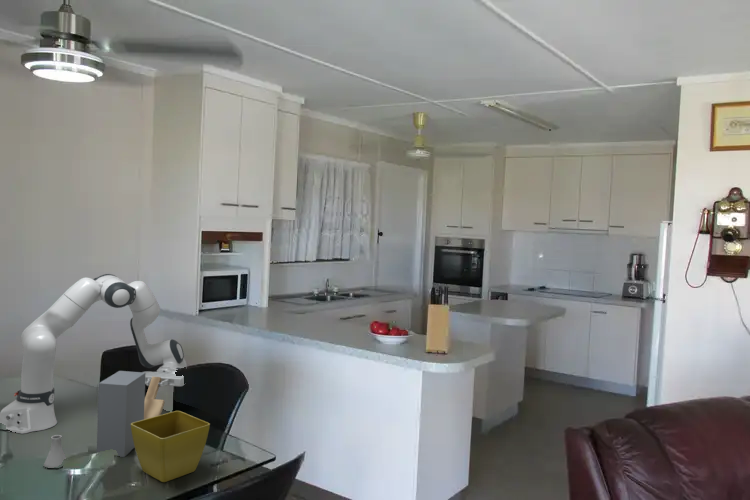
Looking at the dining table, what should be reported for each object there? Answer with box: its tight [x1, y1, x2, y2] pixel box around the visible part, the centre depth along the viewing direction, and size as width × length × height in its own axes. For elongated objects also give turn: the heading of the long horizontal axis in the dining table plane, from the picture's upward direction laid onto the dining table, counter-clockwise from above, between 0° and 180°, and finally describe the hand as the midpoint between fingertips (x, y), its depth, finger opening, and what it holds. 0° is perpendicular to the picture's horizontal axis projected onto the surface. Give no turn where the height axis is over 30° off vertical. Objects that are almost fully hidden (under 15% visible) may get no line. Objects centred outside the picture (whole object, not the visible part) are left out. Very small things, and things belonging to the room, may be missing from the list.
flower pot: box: [131, 410, 211, 483], centre depth 204 cm, size 19×19×17 cm
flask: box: [42, 434, 67, 468], centre depth 203 cm, size 7×7×10 cm
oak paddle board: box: [144, 377, 166, 419], centre depth 245 cm, size 12×22×2 cm
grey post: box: [96, 370, 146, 458], centre depth 220 cm, size 10×16×26 cm, turn 178°
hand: (154, 384), depth 249 cm, fingers closed on oak paddle board, 3 cm apart
